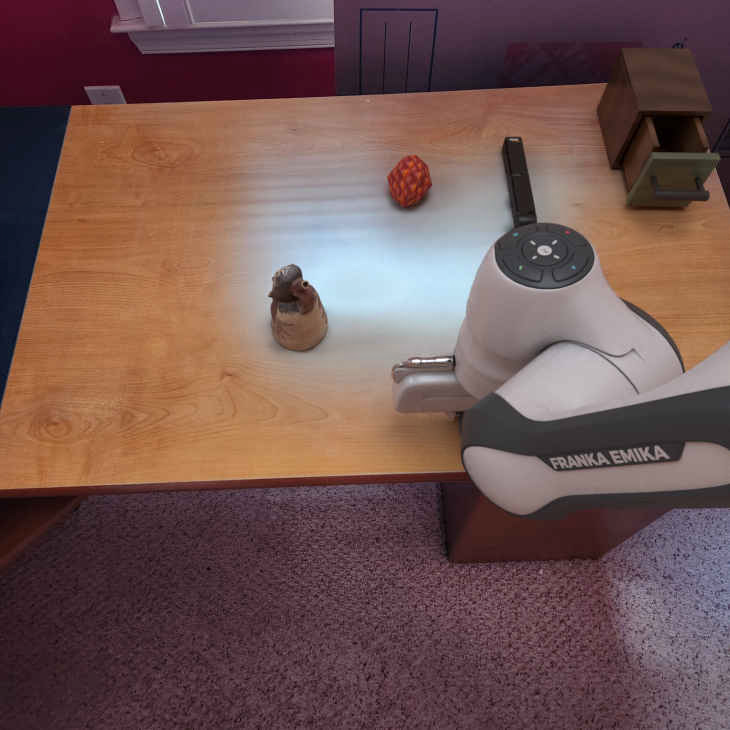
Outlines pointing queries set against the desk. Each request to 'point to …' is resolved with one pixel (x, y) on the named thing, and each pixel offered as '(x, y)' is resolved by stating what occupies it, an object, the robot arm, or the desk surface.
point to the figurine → (296, 310)
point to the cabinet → (648, 94)
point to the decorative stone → (409, 180)
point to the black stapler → (518, 182)
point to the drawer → (668, 162)
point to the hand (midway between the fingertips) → (476, 413)
